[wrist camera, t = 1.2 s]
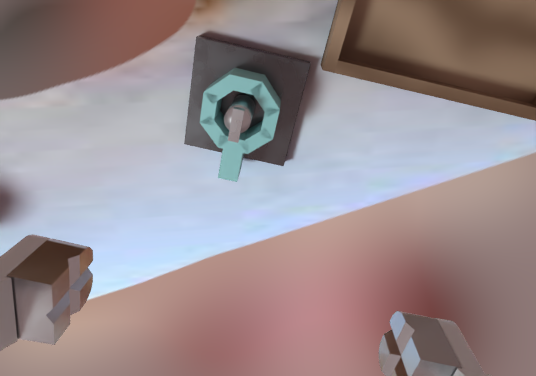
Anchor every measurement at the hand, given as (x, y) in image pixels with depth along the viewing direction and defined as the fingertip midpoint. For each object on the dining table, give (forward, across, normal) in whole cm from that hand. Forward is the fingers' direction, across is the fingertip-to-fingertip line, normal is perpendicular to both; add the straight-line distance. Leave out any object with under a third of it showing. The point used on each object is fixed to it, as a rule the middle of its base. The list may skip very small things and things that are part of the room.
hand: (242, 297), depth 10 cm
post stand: (+27, +3, +1) cm, 27 cm away
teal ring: (+26, +3, +2) cm, 26 cm away
